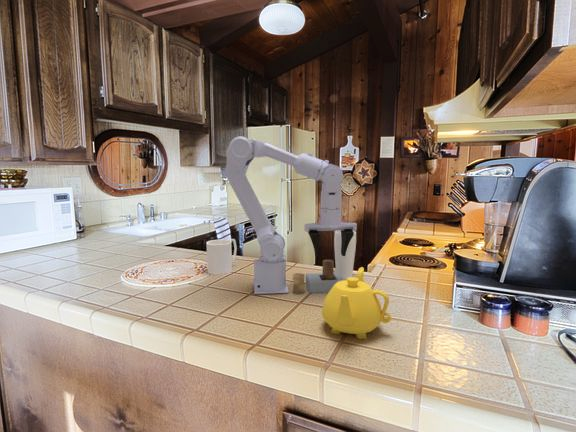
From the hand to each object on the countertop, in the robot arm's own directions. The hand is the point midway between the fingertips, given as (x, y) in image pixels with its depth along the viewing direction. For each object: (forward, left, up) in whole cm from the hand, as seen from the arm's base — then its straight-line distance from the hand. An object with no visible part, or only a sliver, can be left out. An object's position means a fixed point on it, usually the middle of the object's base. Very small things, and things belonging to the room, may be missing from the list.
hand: (330, 255), depth 97 cm
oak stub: (-9, -1, -10) cm, 14 cm away
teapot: (+1, -24, -10) cm, 26 cm away
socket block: (-1, +2, -10) cm, 10 cm away
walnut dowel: (0, +2, -10) cm, 10 cm away
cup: (-32, +22, -10) cm, 40 cm away
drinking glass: (+7, +10, -10) cm, 16 cm away
